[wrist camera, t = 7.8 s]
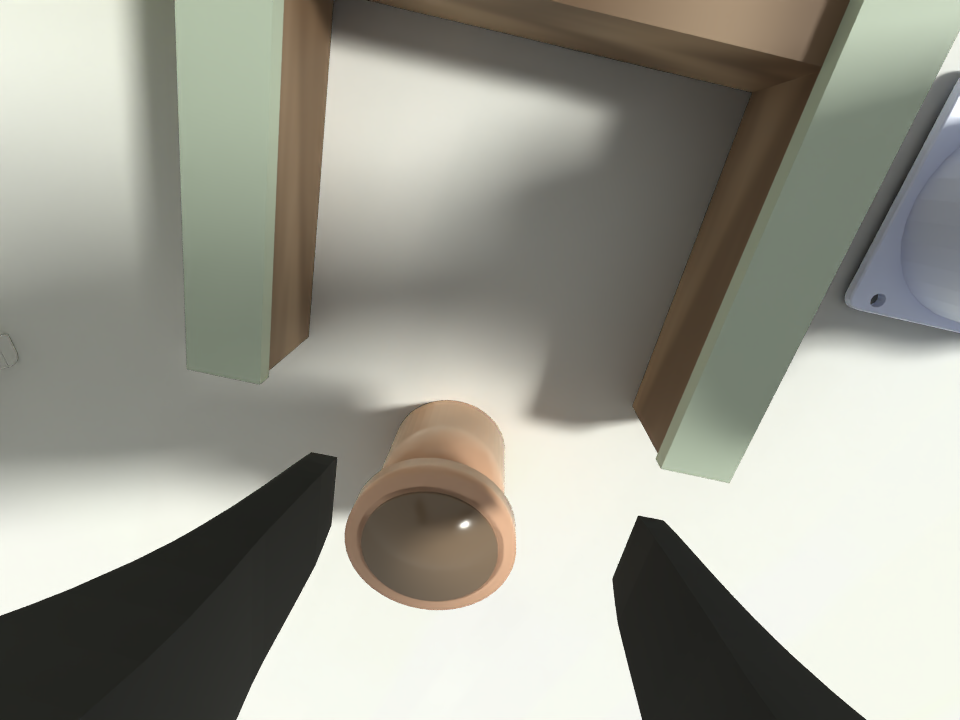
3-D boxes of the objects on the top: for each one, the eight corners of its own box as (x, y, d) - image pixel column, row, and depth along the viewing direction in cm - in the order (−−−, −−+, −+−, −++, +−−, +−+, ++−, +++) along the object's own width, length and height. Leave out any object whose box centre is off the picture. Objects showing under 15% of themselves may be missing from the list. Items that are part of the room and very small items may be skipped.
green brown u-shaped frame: (845, 37, 15) (982, -16, 11) (681, 416, 20) (729, 483, 16) (268, -104, 14) (167, -221, 10) (256, 325, 19) (186, 369, 15)
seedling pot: (517, 395, 20) (521, 484, 14) (510, 504, 22) (511, 619, 17) (383, 388, 20) (336, 473, 15) (389, 497, 23) (349, 608, 17)
